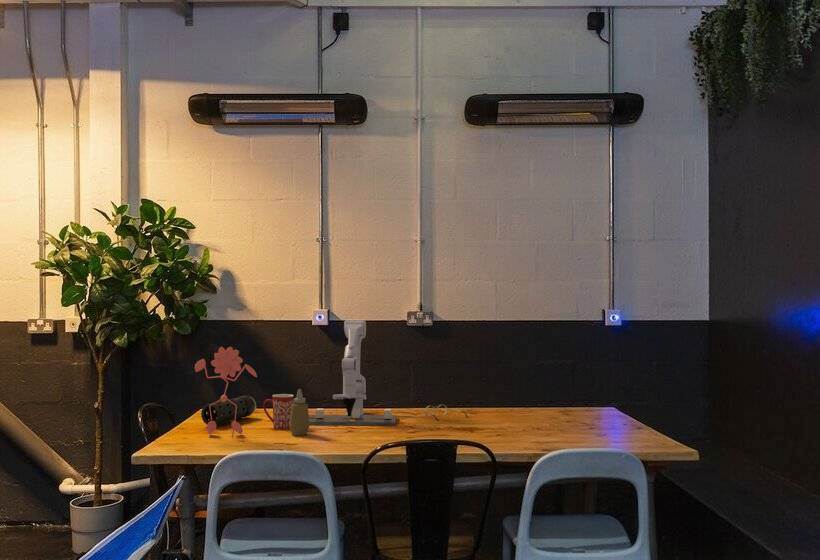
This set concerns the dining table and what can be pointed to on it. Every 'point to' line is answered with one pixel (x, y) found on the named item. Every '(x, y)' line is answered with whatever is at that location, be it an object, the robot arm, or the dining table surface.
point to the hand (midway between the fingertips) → (349, 415)
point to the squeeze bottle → (299, 416)
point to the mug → (280, 410)
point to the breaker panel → (353, 420)
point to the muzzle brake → (228, 410)
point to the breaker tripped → (356, 413)
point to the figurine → (225, 365)
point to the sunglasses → (438, 411)
